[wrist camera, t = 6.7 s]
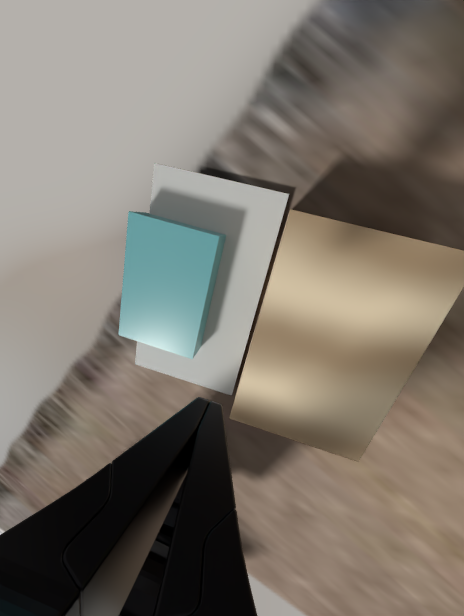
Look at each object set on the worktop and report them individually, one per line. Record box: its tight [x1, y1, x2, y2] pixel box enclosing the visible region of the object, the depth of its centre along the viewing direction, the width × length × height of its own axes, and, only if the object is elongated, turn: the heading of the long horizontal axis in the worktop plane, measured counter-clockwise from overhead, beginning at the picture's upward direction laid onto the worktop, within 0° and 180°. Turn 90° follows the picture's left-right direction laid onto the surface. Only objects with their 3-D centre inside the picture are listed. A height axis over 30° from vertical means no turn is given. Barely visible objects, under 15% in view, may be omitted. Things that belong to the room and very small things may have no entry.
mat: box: [135, 163, 289, 396], centre depth 19 cm, size 16×9×1 cm, turn 167°
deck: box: [229, 209, 464, 462], centre depth 16 cm, size 14×9×4 cm, turn 167°
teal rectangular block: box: [119, 211, 226, 359], centre depth 18 cm, size 9×6×2 cm, turn 166°
